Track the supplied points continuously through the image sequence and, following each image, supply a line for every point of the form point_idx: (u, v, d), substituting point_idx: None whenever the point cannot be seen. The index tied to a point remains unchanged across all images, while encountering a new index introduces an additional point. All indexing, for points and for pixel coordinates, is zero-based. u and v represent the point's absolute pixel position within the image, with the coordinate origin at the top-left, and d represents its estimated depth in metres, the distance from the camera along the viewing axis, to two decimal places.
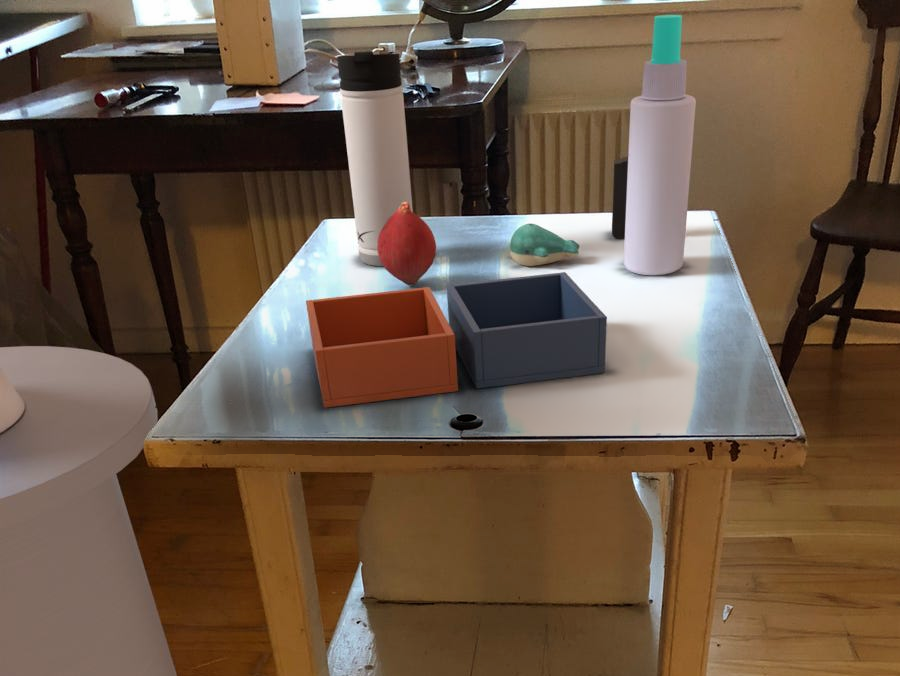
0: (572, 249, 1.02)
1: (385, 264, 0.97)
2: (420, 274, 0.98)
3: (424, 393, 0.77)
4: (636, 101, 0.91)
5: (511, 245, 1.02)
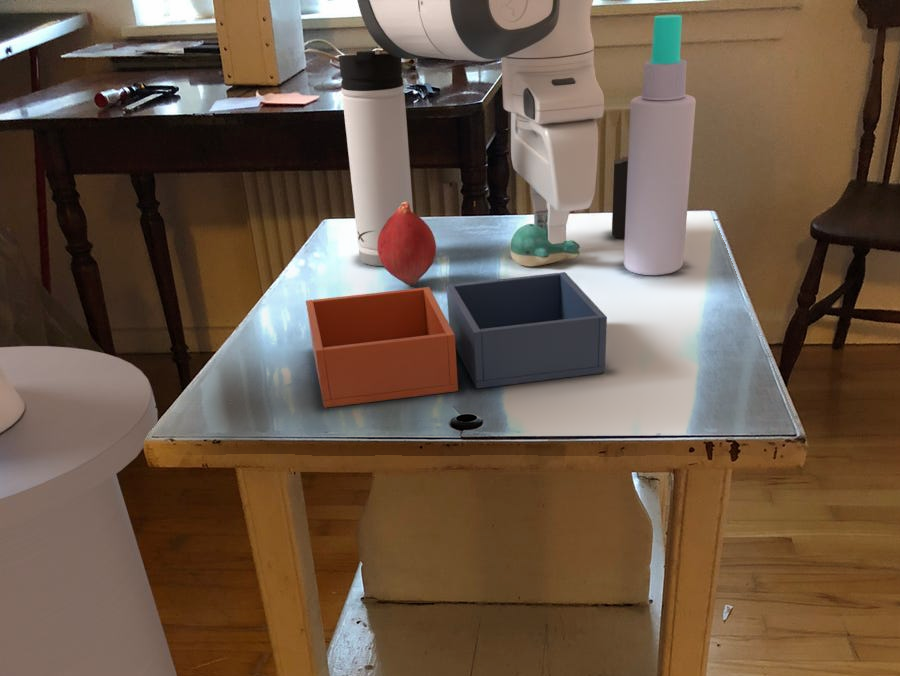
0: (573, 250, 1.02)
1: (385, 264, 0.97)
2: (420, 274, 0.98)
3: (424, 393, 0.77)
4: (636, 101, 0.91)
5: (511, 245, 1.02)
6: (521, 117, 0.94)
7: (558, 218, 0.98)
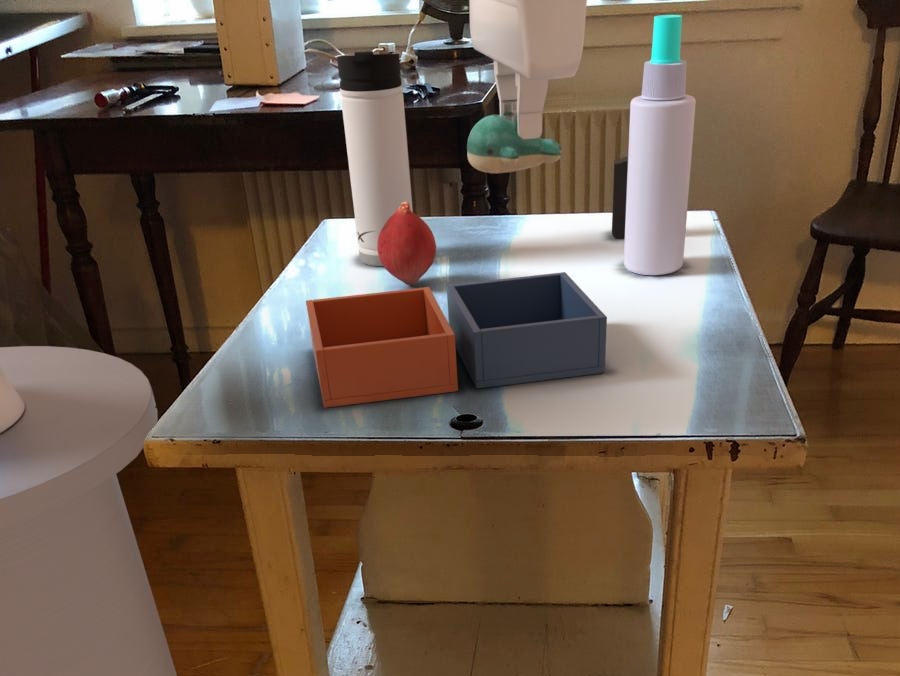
0: (552, 150, 0.74)
1: (385, 264, 0.97)
2: (420, 274, 0.98)
3: (424, 393, 0.77)
4: (636, 101, 0.91)
5: (469, 144, 0.75)
6: None
7: (531, 101, 0.71)
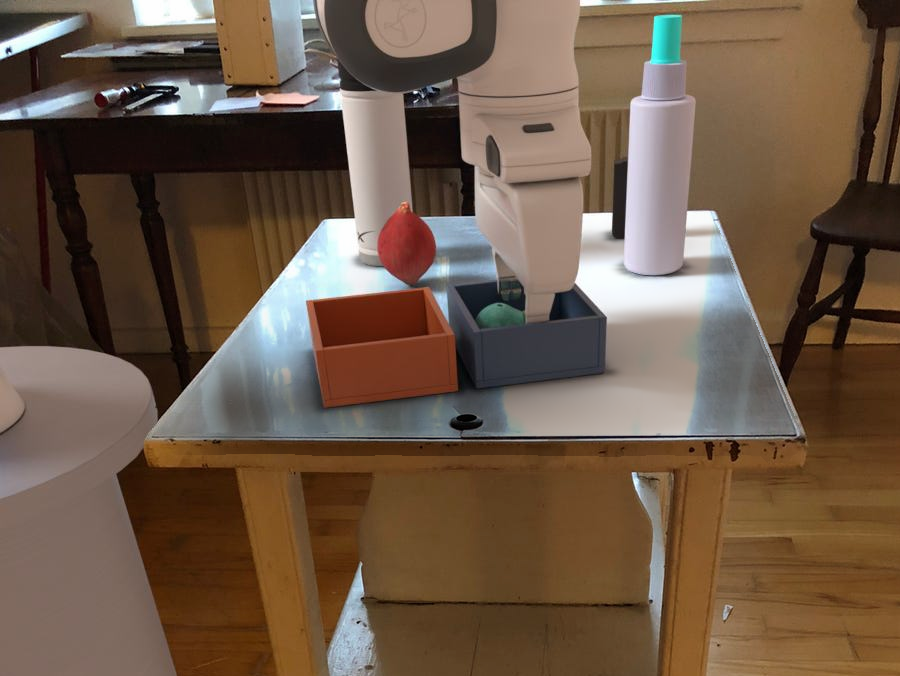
0: None
1: (385, 264, 0.97)
2: (420, 274, 0.98)
3: (424, 393, 0.77)
4: (636, 101, 0.91)
5: None
6: (484, 170, 0.73)
7: (539, 307, 0.75)
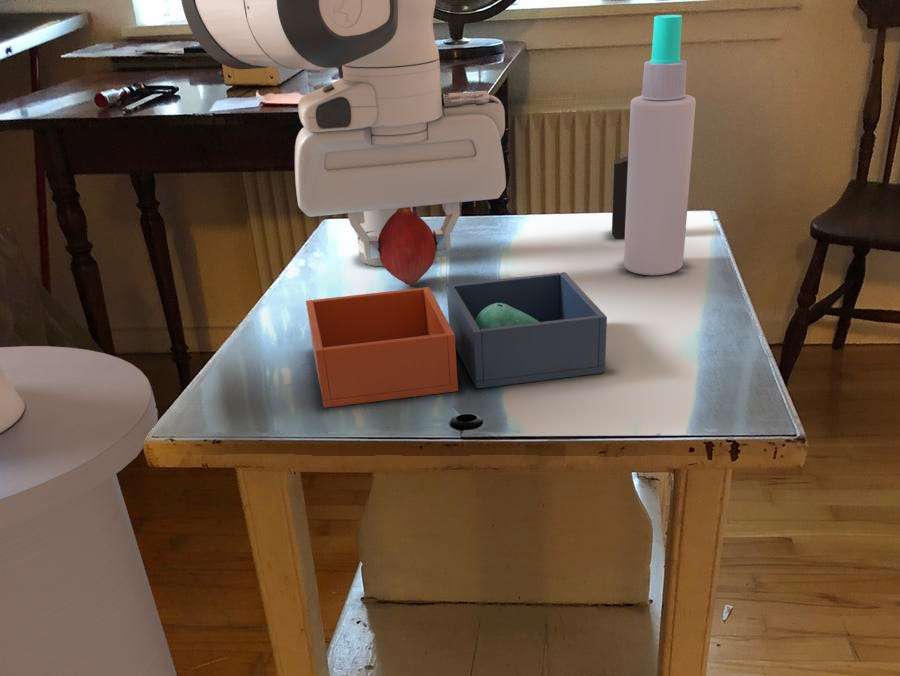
0: None
1: (385, 264, 0.97)
2: (420, 274, 0.98)
3: (424, 393, 0.77)
4: (636, 101, 0.91)
5: None
6: None
7: None
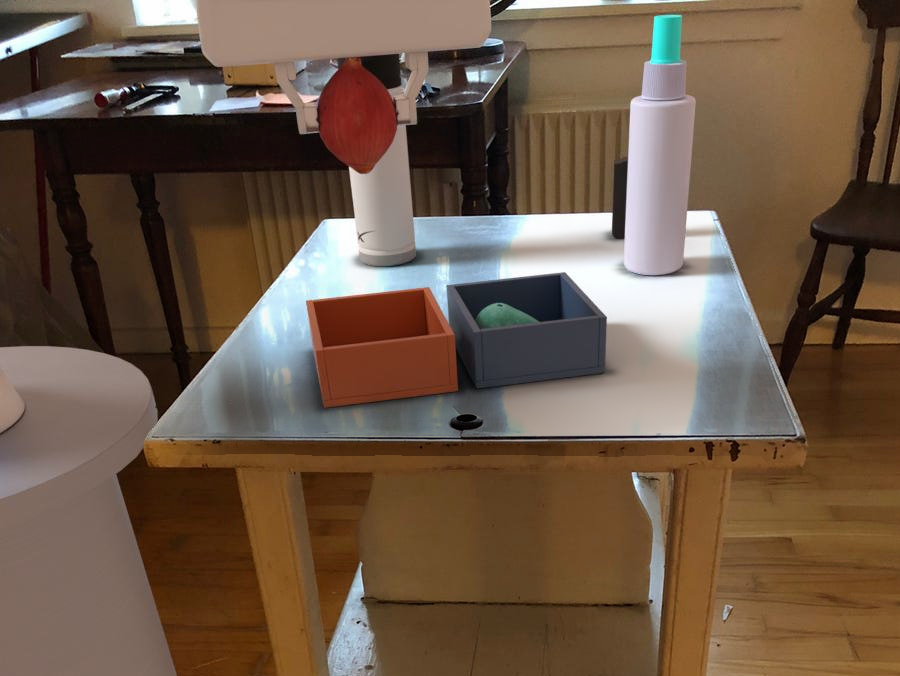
0: None
1: (327, 141, 0.71)
2: (375, 156, 0.72)
3: (424, 393, 0.77)
4: (636, 101, 0.91)
5: None
6: None
7: None
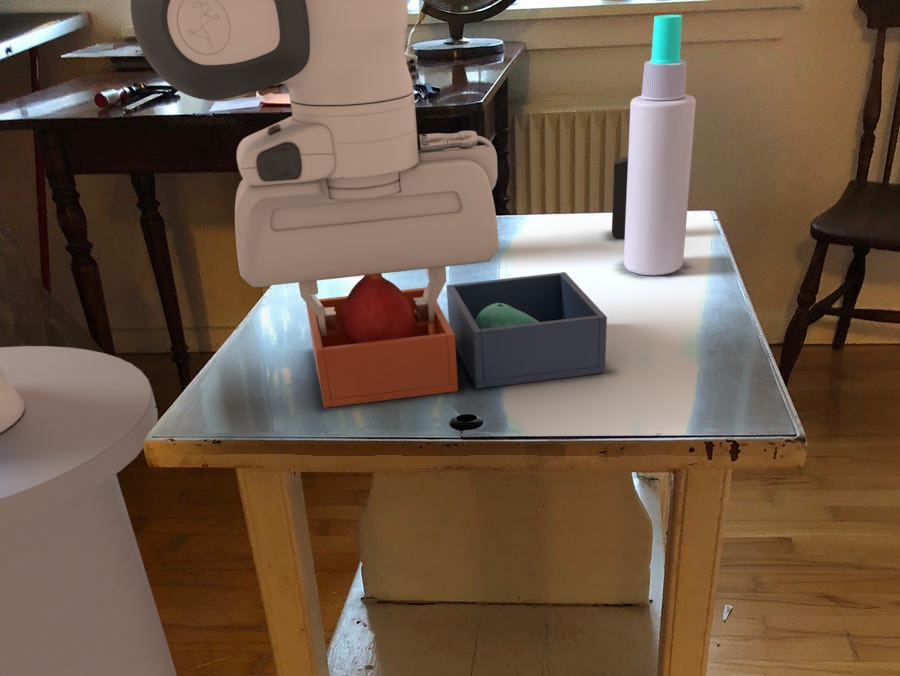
0: None
1: (351, 341, 0.78)
2: None
3: (424, 393, 0.77)
4: (636, 101, 0.91)
5: None
6: None
7: None
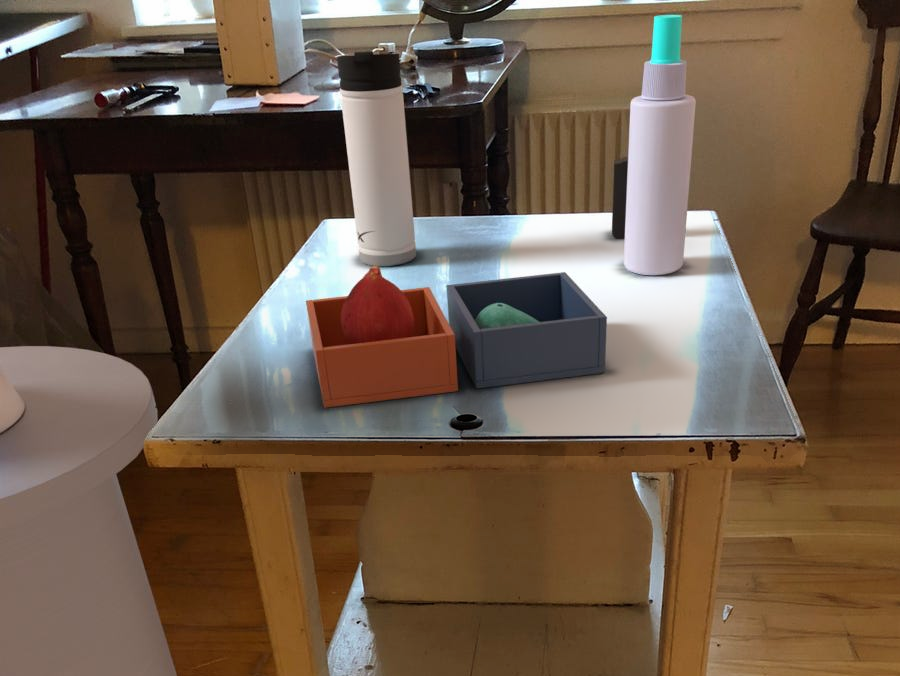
0: None
1: (351, 341, 0.78)
2: None
3: (424, 393, 0.77)
4: (636, 101, 0.91)
5: None
6: None
7: None
